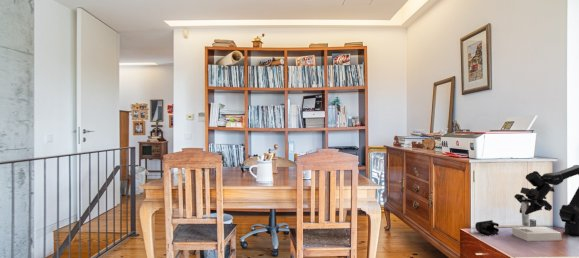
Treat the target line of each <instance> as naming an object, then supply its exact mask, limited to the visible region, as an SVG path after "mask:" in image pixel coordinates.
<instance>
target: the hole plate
mask: <svg viewBox="0 0 579 258" xmlns="http://www.w3.org/2000/svg"><path fill="white" fill-rule="evenodd" d="M511 231H512V232H511V233H512V236H515V237H517V238H520V239H522V240H524V241H526V242H548V241H549V242H551V241H554V242H555V241H563V240H562V232H559V231H558V230H554V229H552V228H549V227H546V226H536V227H530V226H519V227H518V226H517V227H511Z"/></svg>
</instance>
